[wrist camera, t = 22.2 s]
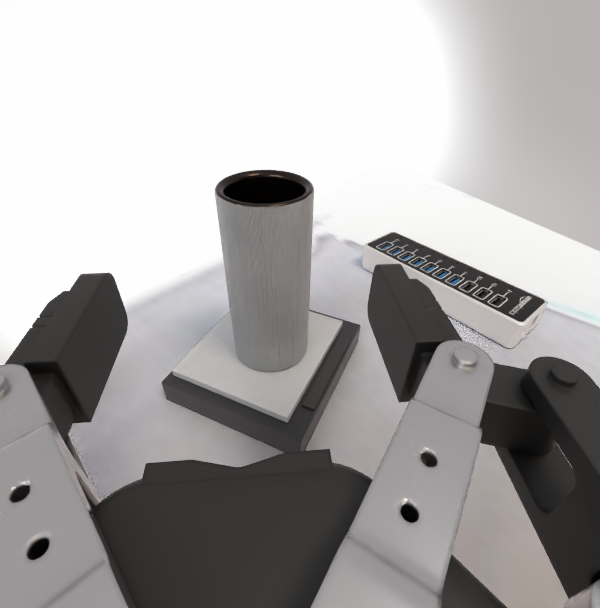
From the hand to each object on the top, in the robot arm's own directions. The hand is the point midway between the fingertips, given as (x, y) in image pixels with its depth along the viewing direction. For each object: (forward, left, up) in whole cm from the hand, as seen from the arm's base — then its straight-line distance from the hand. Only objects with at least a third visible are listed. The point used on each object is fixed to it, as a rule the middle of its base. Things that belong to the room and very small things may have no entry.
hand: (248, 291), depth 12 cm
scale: (+7, +3, -12) cm, 14 cm away
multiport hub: (+20, -6, -12) cm, 24 cm away
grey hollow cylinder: (+7, +3, -10) cm, 12 cm away
